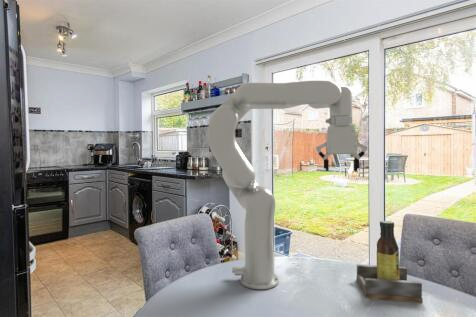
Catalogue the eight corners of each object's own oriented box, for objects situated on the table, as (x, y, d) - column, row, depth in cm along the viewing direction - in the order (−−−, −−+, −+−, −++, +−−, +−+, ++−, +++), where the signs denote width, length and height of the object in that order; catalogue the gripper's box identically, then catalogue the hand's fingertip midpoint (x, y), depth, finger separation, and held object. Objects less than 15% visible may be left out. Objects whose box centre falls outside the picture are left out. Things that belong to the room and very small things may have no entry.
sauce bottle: (402, 291, 91) (402, 224, 90) (379, 289, 92) (379, 224, 92) (395, 282, 97) (395, 220, 97) (374, 281, 98) (374, 219, 98)
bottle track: (366, 298, 89) (366, 280, 89) (356, 279, 103) (356, 263, 103) (422, 302, 86) (422, 284, 86) (404, 282, 100) (404, 266, 100)
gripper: (316, 121, 106) (316, 171, 106) (369, 120, 103) (369, 171, 103) (314, 124, 113) (315, 170, 113) (364, 122, 110) (364, 170, 110)
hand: (341, 170), depth 108 cm, fingers open, 9 cm apart
